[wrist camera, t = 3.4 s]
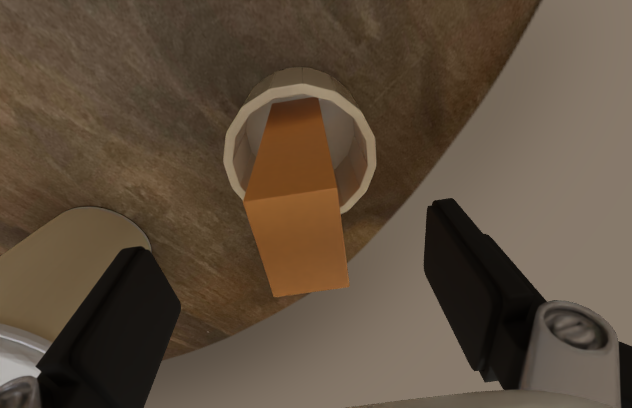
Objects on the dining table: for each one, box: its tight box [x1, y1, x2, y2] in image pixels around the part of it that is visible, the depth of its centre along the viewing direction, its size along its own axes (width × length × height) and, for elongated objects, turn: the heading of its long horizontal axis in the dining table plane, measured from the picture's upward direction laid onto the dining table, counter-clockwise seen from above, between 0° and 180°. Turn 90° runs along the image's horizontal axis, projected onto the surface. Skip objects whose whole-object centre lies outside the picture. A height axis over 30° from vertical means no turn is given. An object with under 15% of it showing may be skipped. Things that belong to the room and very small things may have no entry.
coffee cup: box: [0, 207, 152, 386], centre depth 21 cm, size 9×9×12 cm
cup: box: [223, 67, 376, 214], centre depth 19 cm, size 8×8×6 cm
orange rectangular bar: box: [243, 97, 349, 297], centre depth 16 cm, size 3×4×12 cm, turn 8°
